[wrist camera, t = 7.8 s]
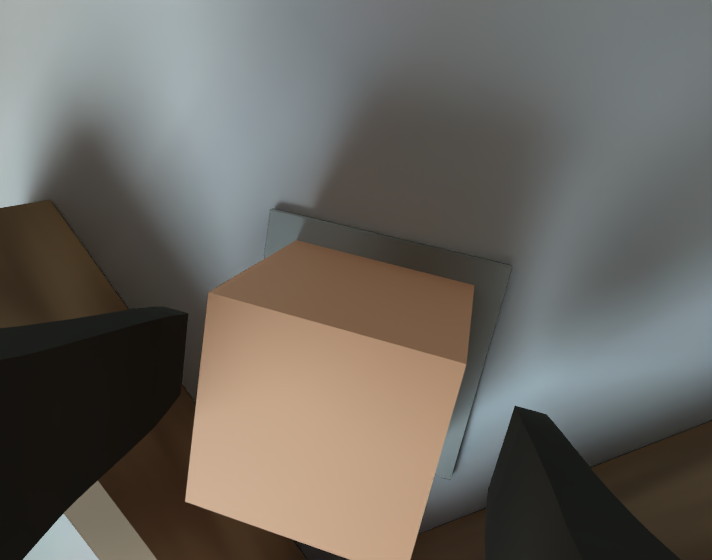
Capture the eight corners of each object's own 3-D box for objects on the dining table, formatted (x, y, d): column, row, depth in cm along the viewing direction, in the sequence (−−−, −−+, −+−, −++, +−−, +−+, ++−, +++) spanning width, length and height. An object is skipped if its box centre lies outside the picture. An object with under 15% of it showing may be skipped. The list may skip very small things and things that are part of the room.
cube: (270, 395, 15) (184, 501, 11) (296, 240, 14) (208, 291, 9) (430, 444, 14) (404, 579, 10) (474, 285, 13) (466, 364, 9)
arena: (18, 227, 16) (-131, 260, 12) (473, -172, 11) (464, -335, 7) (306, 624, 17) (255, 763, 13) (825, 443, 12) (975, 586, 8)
